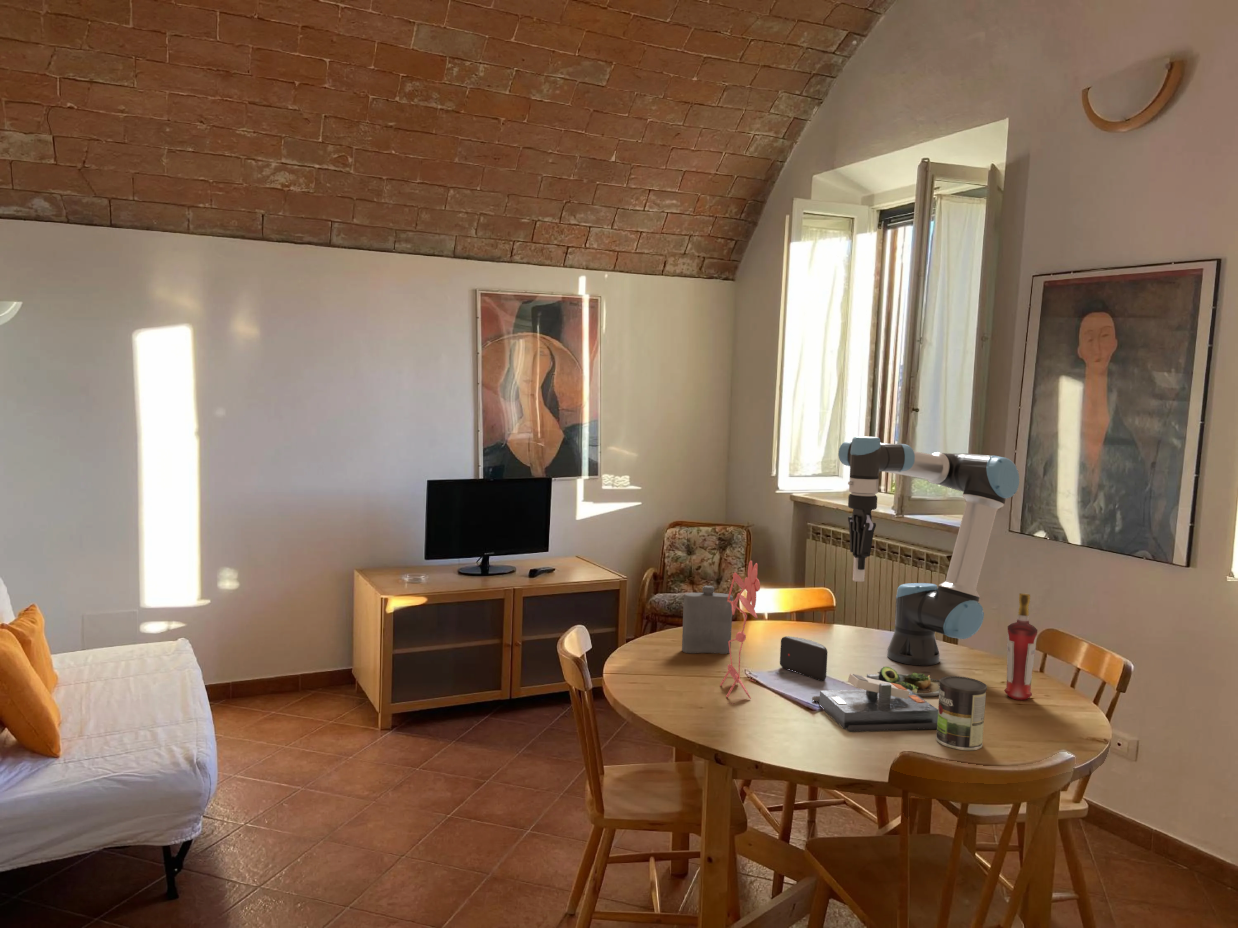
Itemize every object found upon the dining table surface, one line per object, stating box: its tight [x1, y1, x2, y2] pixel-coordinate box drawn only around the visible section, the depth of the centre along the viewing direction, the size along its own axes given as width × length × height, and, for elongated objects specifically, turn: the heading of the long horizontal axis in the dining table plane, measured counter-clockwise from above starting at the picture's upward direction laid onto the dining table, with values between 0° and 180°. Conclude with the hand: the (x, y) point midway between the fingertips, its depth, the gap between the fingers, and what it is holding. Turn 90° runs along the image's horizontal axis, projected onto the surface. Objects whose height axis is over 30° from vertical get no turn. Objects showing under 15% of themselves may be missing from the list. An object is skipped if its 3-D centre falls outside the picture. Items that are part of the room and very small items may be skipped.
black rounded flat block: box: [779, 635, 828, 681], centre depth 263 cm, size 16×5×9 cm, turn 39°
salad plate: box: [877, 666, 940, 698], centre depth 253 cm, size 19×18×5 cm
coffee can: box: [935, 675, 988, 752], centre depth 213 cm, size 10×10×14 cm
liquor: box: [1003, 592, 1039, 701], centre depth 247 cm, size 7×7×28 cm
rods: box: [811, 695, 937, 732], centre depth 230 cm, size 24×22×1 cm
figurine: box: [719, 560, 761, 705], centre depth 244 cm, size 15×26×35 cm, turn 4°
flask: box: [681, 585, 734, 655], centre depth 282 cm, size 15×6×20 cm, turn 93°
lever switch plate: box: [818, 673, 938, 730], centre depth 229 cm, size 24×16×9 cm, turn 99°
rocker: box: [847, 673, 910, 699], centre depth 229 cm, size 14×5×2 cm, turn 99°
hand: (858, 580), depth 250 cm, fingers closed
